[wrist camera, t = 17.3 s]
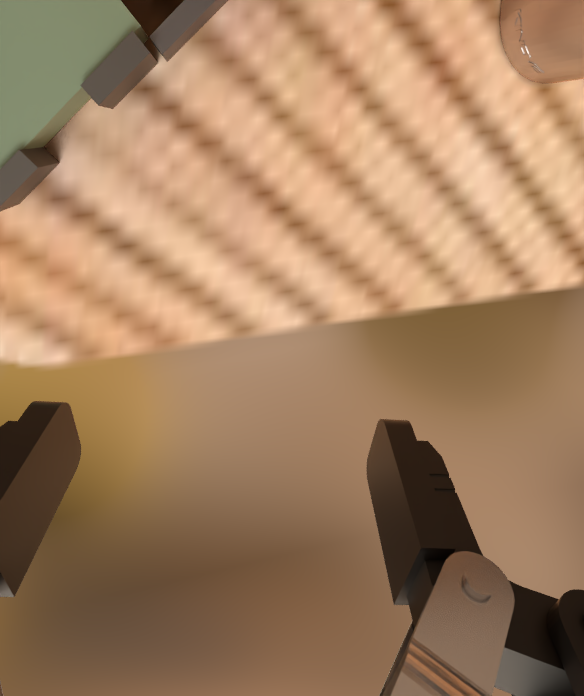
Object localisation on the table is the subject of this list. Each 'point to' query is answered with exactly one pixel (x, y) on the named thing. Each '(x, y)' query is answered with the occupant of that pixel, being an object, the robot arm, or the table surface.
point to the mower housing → (71, 72)
